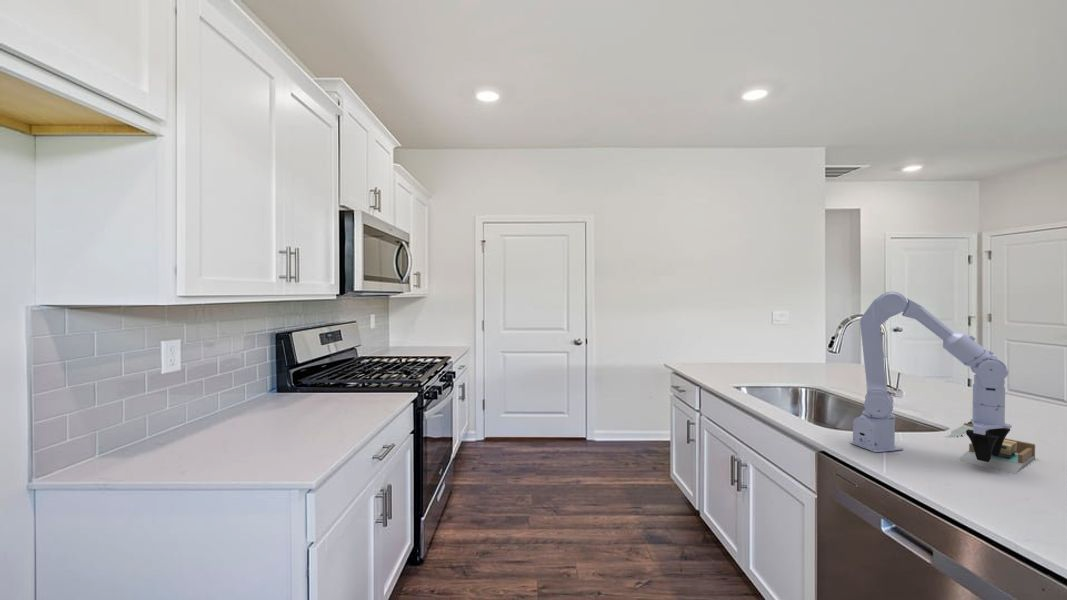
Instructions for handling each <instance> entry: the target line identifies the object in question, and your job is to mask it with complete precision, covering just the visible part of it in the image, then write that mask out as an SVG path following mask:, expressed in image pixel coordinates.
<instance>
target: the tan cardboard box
mask: <svg viewBox="0 0 1067 600" xmlns="http://www.w3.org/2000/svg"><path fill="white" fill-rule="evenodd" d="M1015 451H1017V442H1014V441H1009V440H1004V441H1003V444H1002V447H1001V451H1000V453H999V455H998V456H999V457H1003V458H1008V459H1009V458H1010V455H1015ZM994 456H996V455H994Z"/></svg>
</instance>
